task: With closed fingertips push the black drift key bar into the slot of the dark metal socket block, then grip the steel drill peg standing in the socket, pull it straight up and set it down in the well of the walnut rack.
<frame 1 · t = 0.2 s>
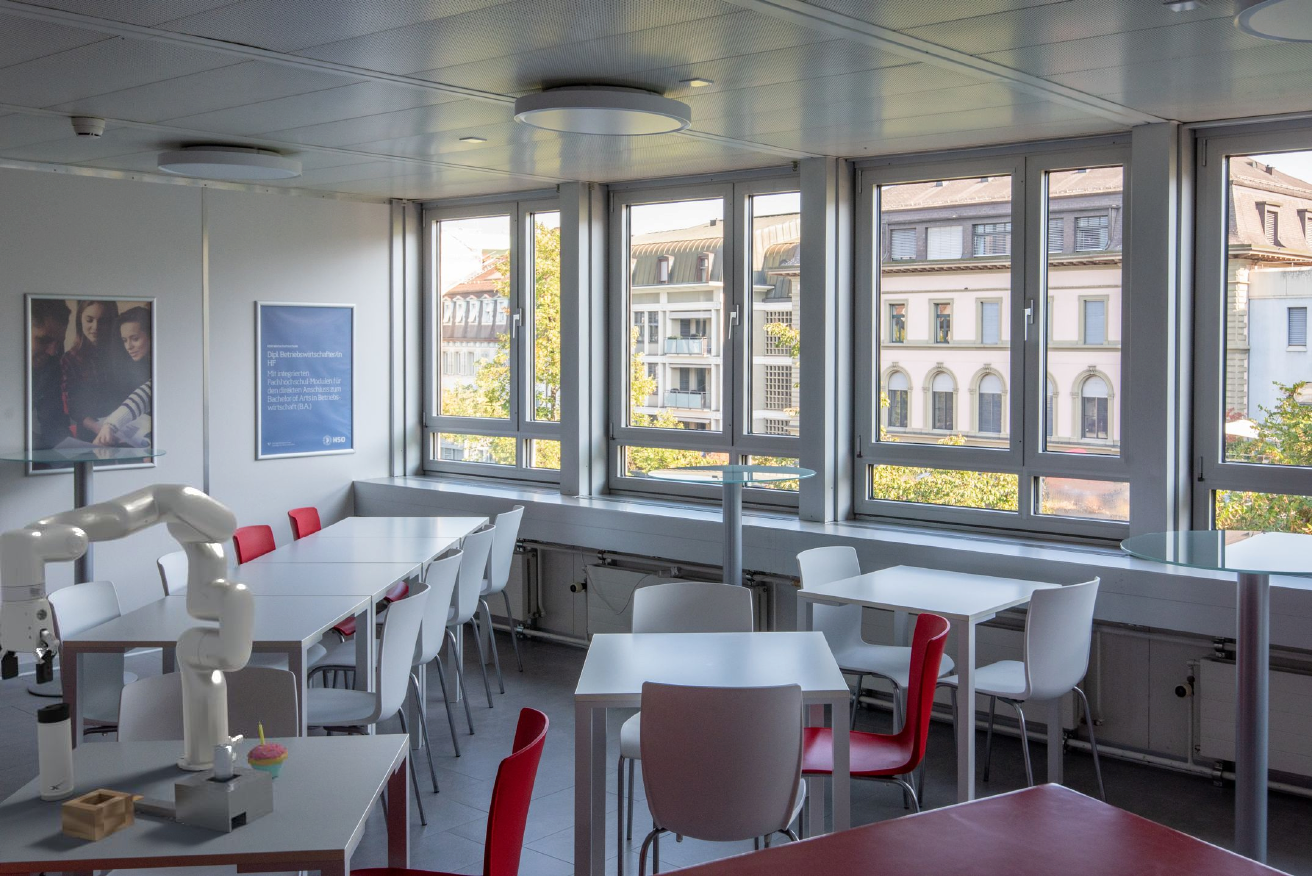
hand: (27, 680, 218), 31 cm above the table, tool pointing down, fingers open, 9 cm apart
drill peg: (224, 800, 226), point 3 cm above the table, touching socket block
socket block: (225, 816, 226), on the table
cupcake: (268, 776, 250), on the table
travel mug: (58, 796, 240), on the table
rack: (98, 829, 221), on the table
drift key: (159, 808, 228), point 1 cm above the table, slide at 0.0 cm
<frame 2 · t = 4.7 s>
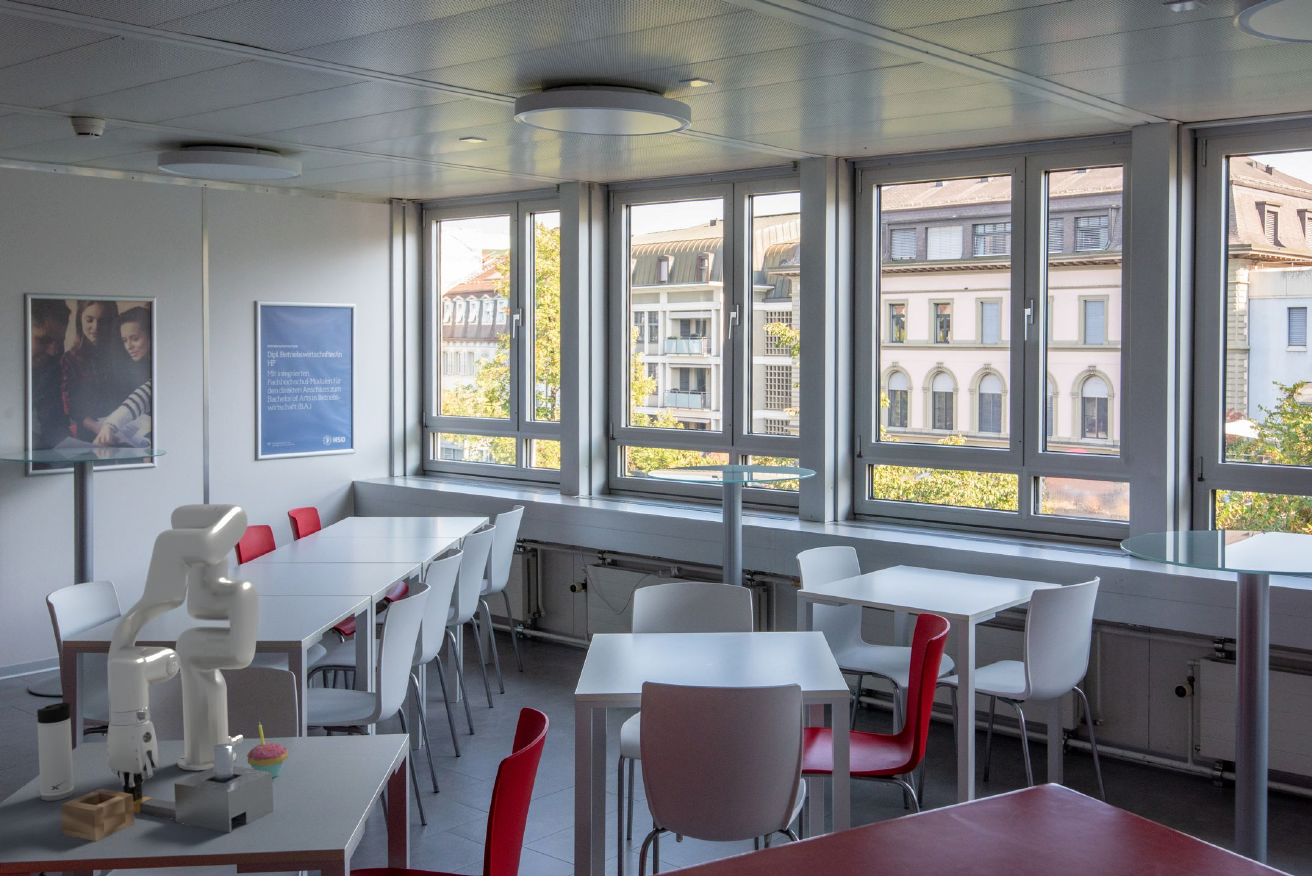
hand: (133, 803, 231), 1 cm above the table, tool pointing down, fingers closed
drift key: (167, 809, 228), point 1 cm above the table, slide at 2.2 cm, touching gripper
everything else where it was.
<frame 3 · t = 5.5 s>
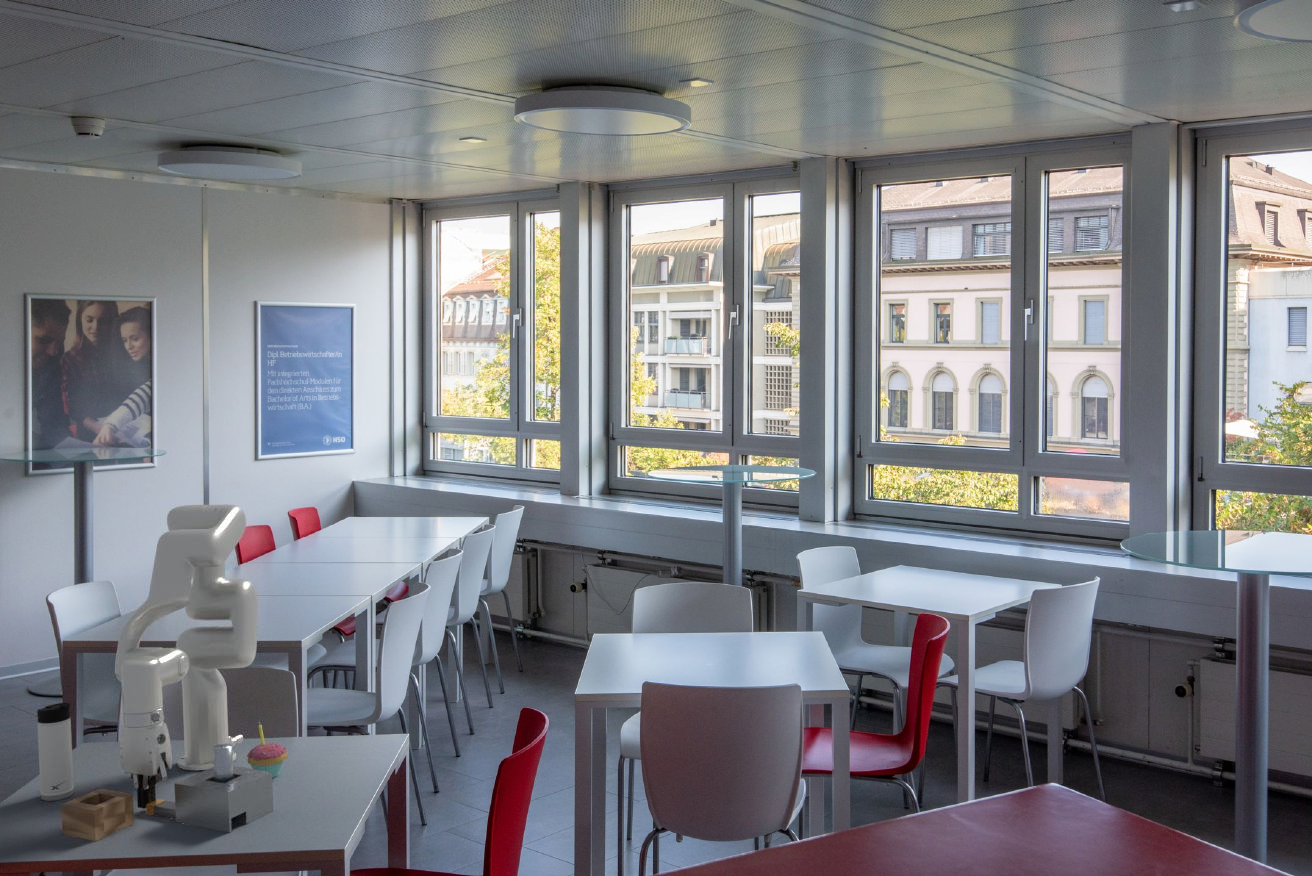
hand: (146, 805, 230), 1 cm above the table, tool pointing down, fingers closed
drift key: (181, 812, 226), point 1 cm above the table, slide at 6.0 cm, touching gripper
everything else where it was.
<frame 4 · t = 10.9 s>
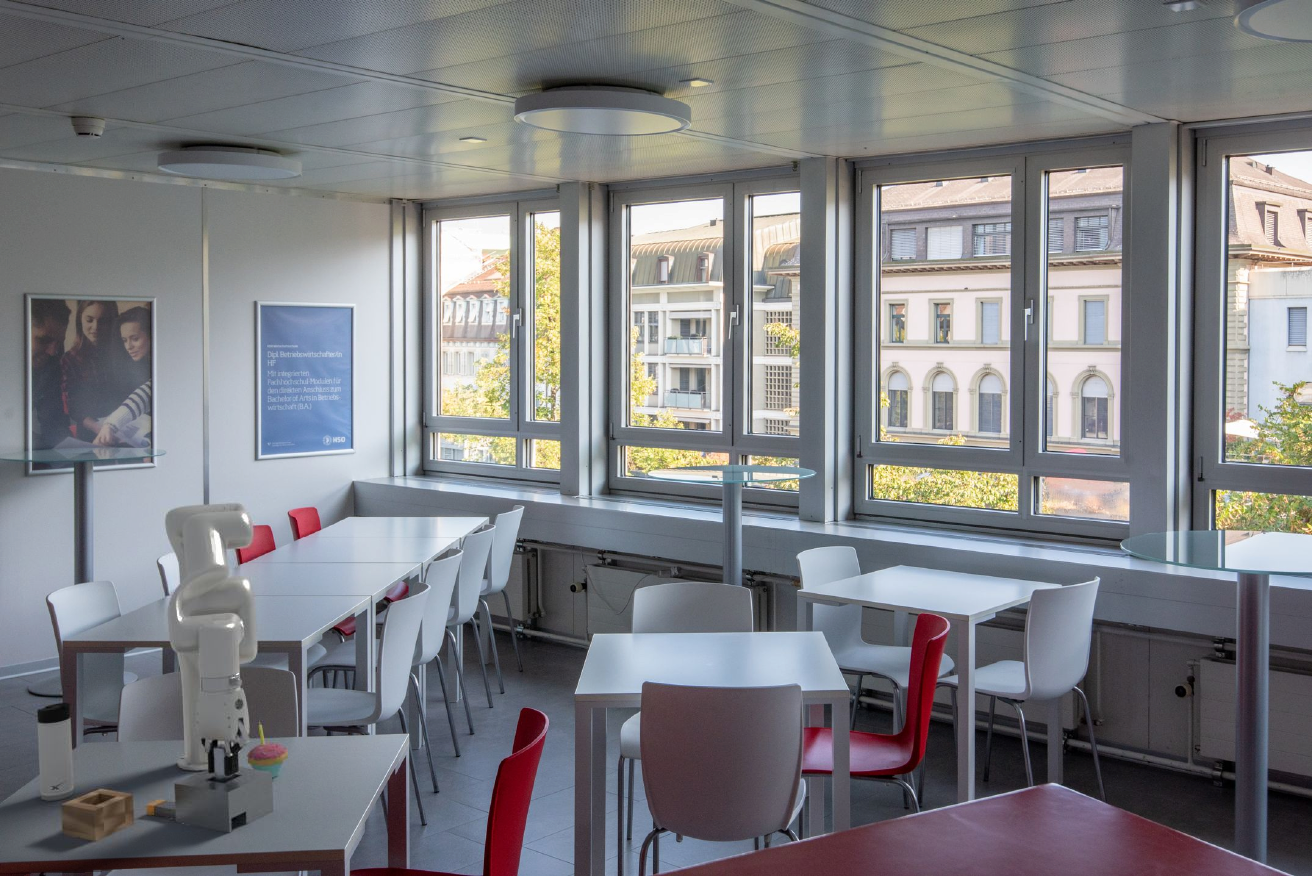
hand: (223, 771, 226), 9 cm above the table, tool pointing down, fingers closed on drill peg, 3 cm apart
drill peg: (224, 799, 226), point 3 cm above the table, touching gripper, socket block
drift key: (182, 812, 226), point 1 cm above the table, slide at 6.1 cm
everything else where it was.
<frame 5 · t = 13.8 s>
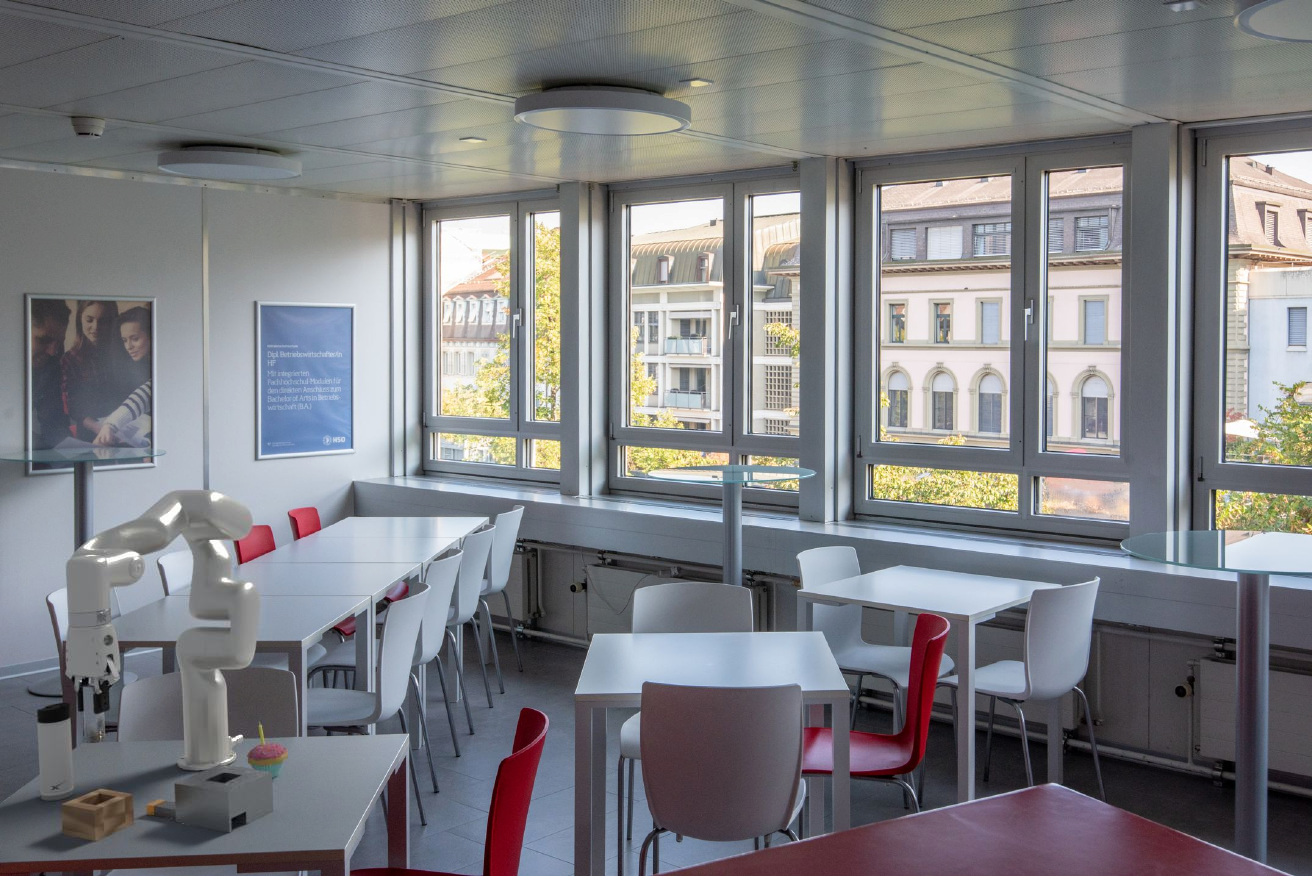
hand: (93, 710, 220), 24 cm above the table, tool pointing down, fingers closed on drill peg, 3 cm apart
drill peg: (95, 740, 220), point 18 cm above the table, touching gripper
everything else where it was.
when the fingers open (9 cm above the table, at t = 16.7 s): drill peg drops 2 cm, resting on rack.
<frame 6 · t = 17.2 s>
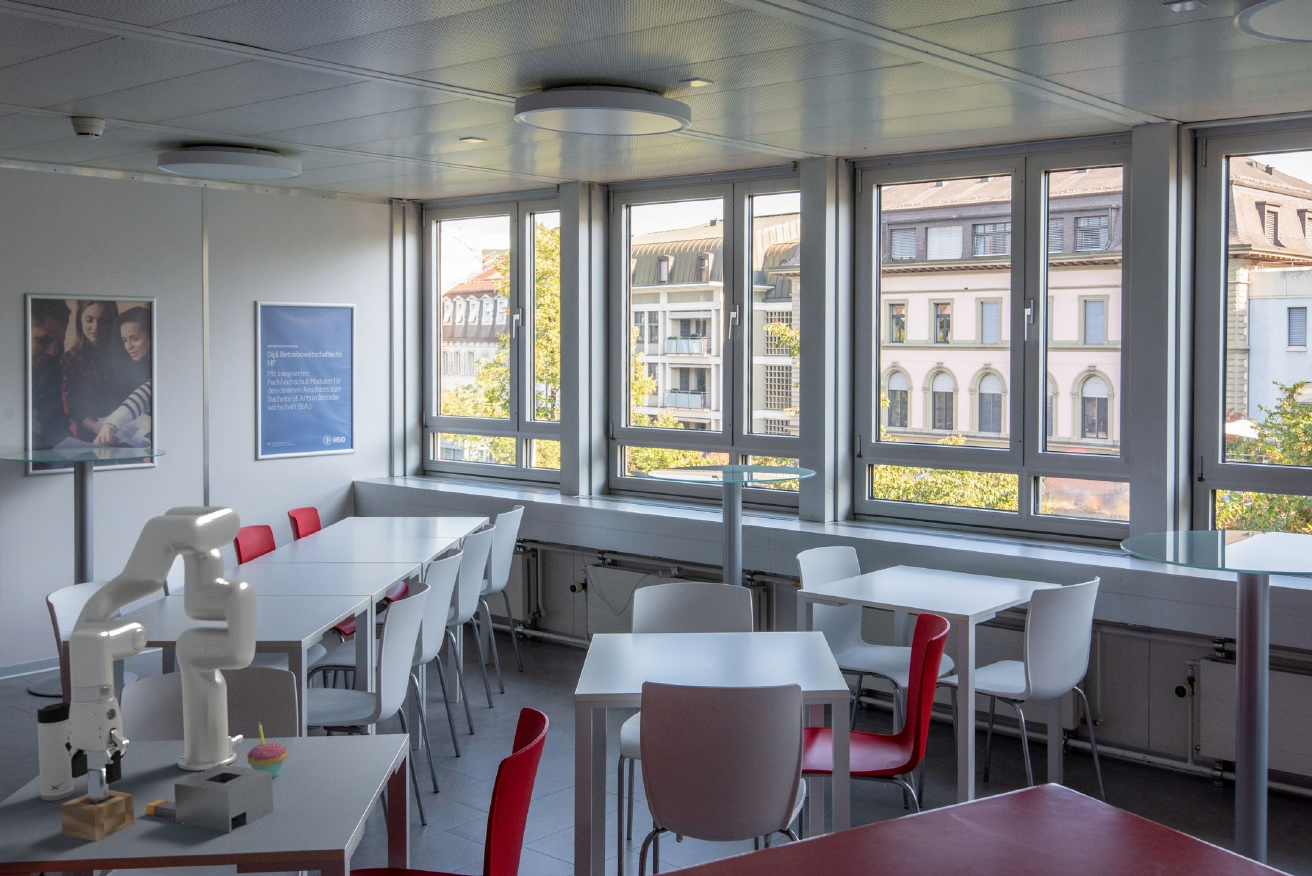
hand: (96, 778, 220), 10 cm above the table, tool pointing down, fingers open, 8 cm apart
drill peg: (98, 823, 221), point 1 cm above the table, touching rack
everything else where it was.
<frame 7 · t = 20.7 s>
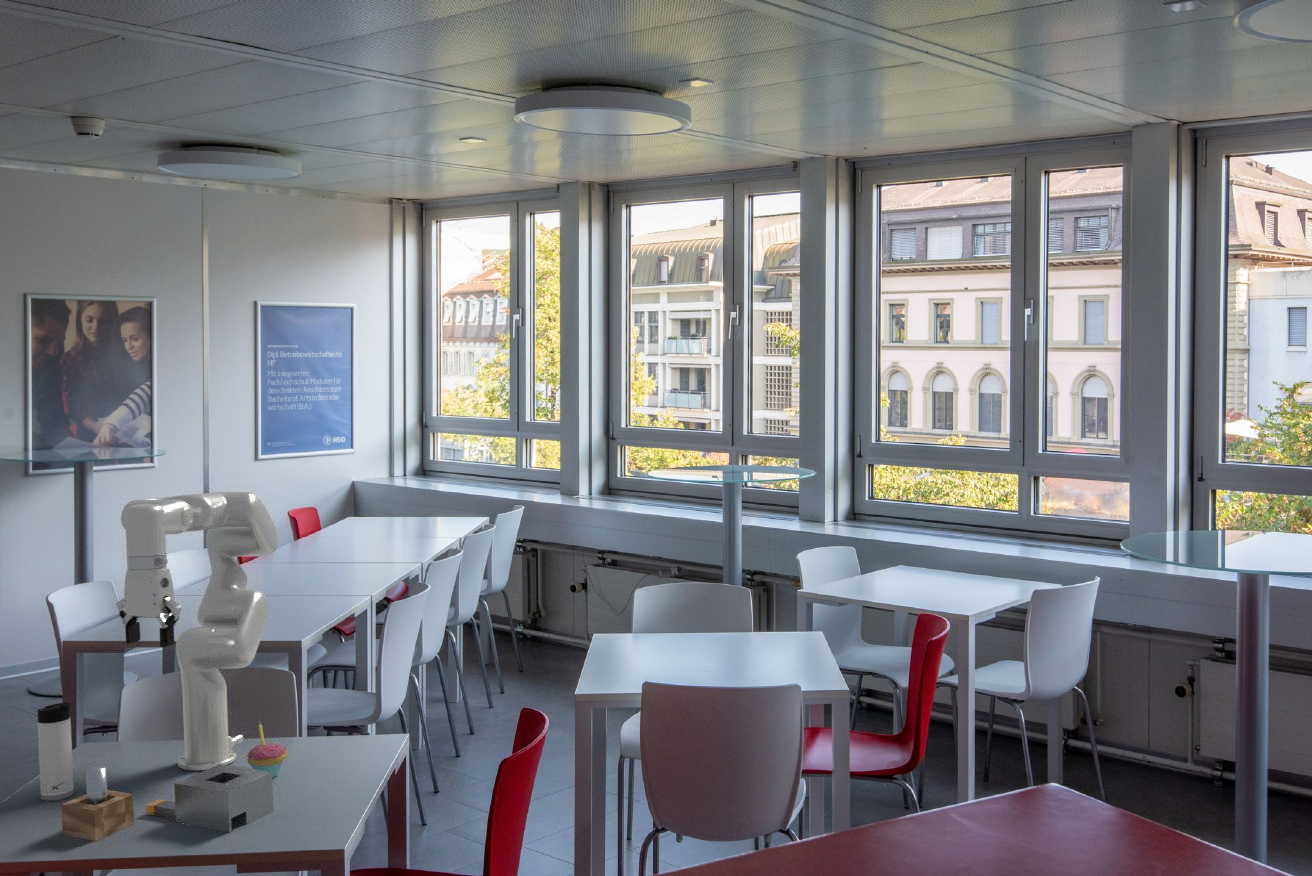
hand: (150, 643, 235), 33 cm above the table, tool pointing down, fingers open, 9 cm apart
nothing on the table moved.
at the end: drift key slide at 6.1 cm; drill peg 0.1 cm off-centre on the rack, point 1.0 cm above the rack's base; drill peg tilted 1° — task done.
